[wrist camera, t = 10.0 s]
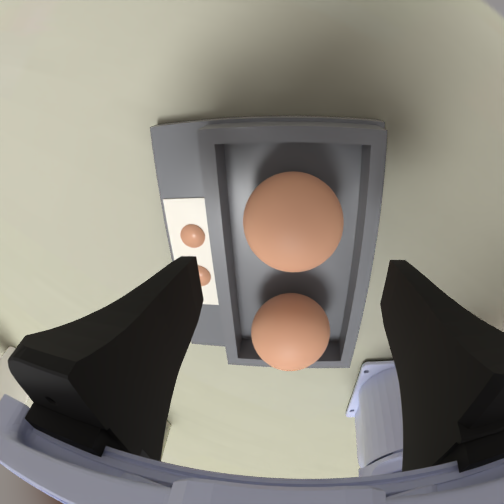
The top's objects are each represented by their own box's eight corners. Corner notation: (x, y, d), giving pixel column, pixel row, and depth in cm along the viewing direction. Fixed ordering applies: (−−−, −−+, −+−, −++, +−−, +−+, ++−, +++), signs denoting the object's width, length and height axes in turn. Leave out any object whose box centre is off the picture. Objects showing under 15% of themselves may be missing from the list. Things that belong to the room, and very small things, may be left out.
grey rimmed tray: (350, 341, 24) (354, 369, 21) (195, 335, 26) (185, 361, 23) (379, 120, 15) (396, 127, 13) (156, 124, 17) (134, 133, 14)
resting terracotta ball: (324, 332, 22) (327, 386, 18) (257, 330, 23) (248, 384, 19) (330, 277, 20) (338, 332, 15) (254, 276, 20) (243, 330, 16)
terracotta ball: (333, 243, 18) (344, 293, 14) (251, 241, 19) (239, 291, 15) (338, 162, 16) (356, 191, 12) (247, 161, 17) (230, 190, 12)
